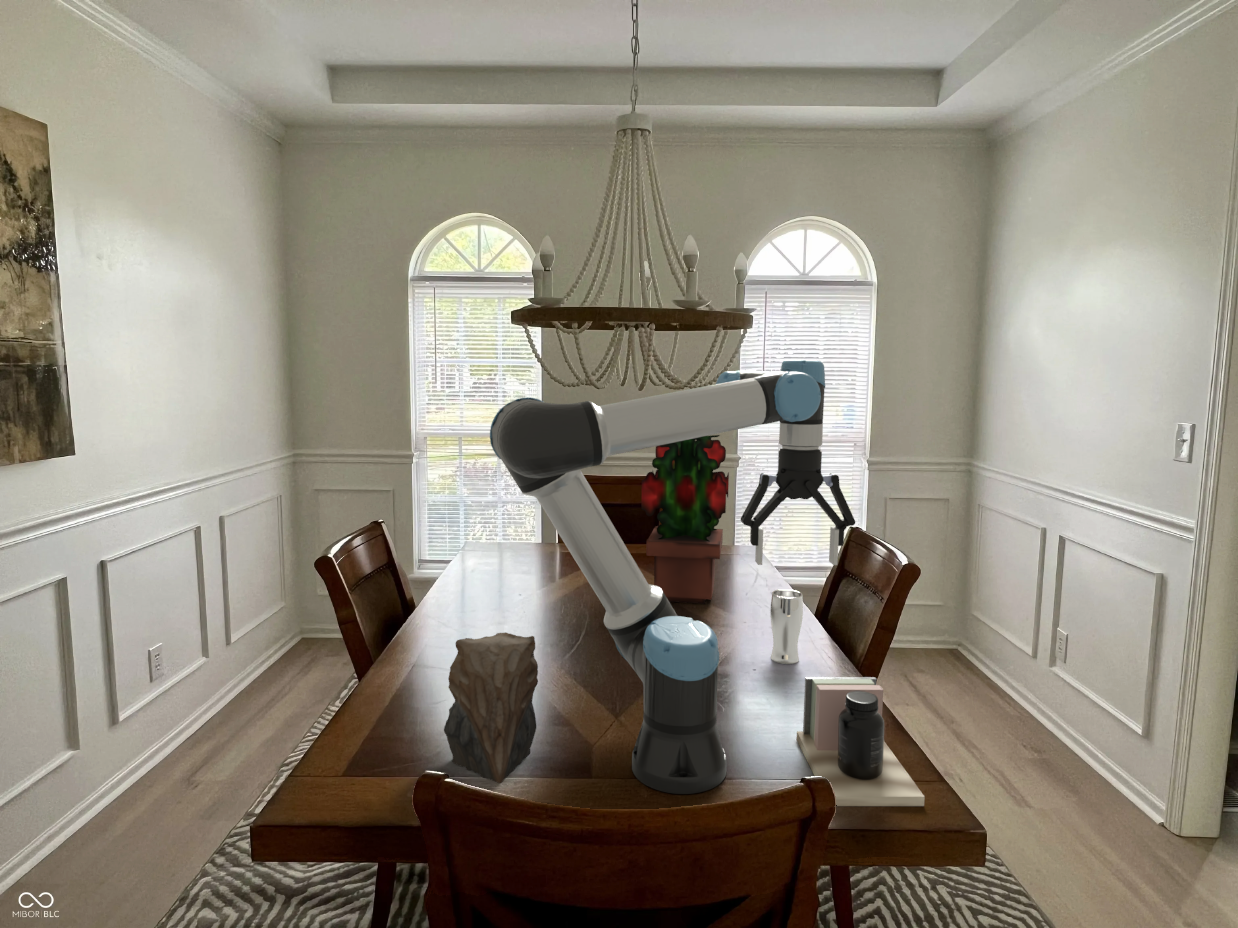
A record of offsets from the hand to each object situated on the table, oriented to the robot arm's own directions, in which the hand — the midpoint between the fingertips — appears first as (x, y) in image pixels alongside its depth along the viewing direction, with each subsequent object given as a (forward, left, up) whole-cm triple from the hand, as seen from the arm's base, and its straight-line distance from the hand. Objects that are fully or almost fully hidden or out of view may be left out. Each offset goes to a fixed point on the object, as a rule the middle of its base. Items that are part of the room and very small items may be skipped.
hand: (795, 563), depth 138 cm
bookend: (-4, -12, -27) cm, 30 cm away
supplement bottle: (-12, -20, -27) cm, 36 cm away
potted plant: (+42, +60, -29) cm, 79 cm away
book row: (-6, -14, -27) cm, 31 cm away
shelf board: (-11, -19, -29) cm, 36 cm away
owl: (-50, +25, -29) cm, 63 cm away
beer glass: (+22, +15, -29) cm, 39 cm away
